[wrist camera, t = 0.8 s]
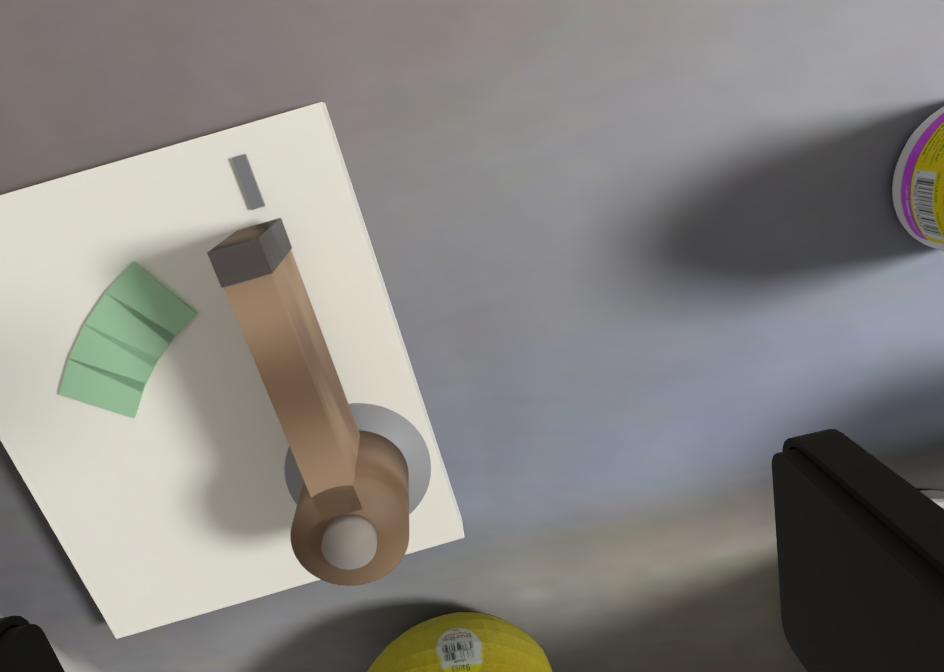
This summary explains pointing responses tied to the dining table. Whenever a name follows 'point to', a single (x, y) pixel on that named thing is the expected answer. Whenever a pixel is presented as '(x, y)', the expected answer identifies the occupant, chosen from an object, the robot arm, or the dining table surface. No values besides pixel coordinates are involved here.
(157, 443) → the dial plate
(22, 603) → the dining table surface
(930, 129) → the supplement bottle
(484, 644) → the lemon
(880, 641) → the robot arm
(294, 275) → the walnut dial lever
